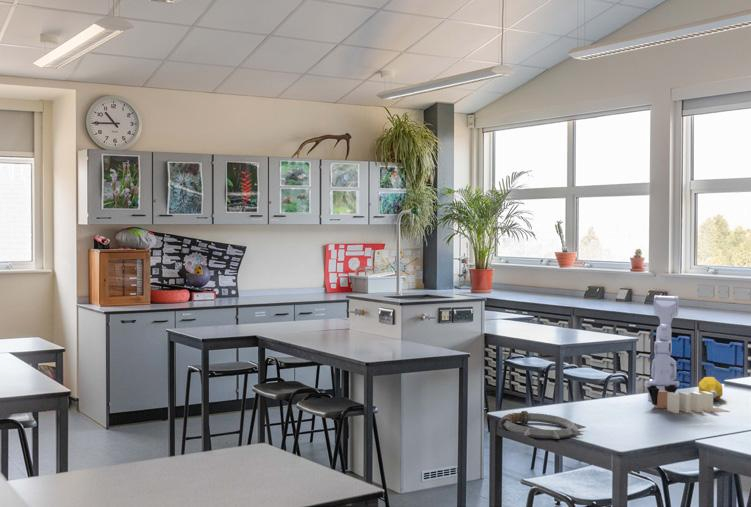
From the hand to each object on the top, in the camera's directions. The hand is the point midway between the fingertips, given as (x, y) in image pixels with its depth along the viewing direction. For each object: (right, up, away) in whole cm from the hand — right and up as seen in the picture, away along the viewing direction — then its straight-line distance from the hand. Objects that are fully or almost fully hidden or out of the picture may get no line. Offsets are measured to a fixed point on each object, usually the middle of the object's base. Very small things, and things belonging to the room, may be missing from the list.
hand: (661, 404), depth 335 cm
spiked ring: (-56, -2, -43) cm, 71 cm away
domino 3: (+7, -1, -7) cm, 9 cm away
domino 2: (+2, -1, -8) cm, 8 cm away
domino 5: (+16, -2, -4) cm, 17 cm away
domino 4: (+12, -2, -5) cm, 13 cm away
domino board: (+12, -2, -5) cm, 13 cm away
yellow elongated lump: (+28, -2, +22) cm, 36 cm away
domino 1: (0, -2, 0) cm, 2 cm away
